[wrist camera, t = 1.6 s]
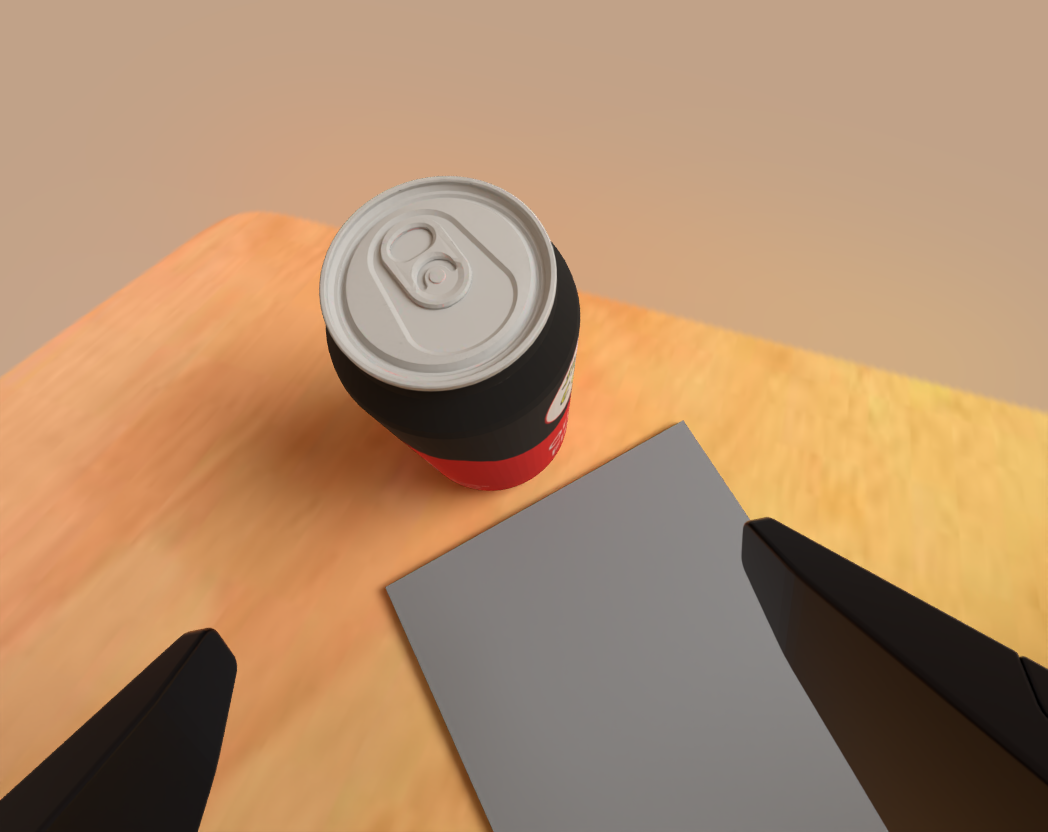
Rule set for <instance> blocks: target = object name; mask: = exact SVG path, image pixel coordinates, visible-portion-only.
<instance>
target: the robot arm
mask: <svg viewBox="0 0 1048 832" xmlns="http://www.w3.org/2000/svg"><path fill="white" fill-rule="evenodd" d="M741 560H742V565H743V568H744V571H745V573H746V575H747V577H748V579H749V582H750V584H751V586H752V588H753V590H754V592H755V595H756V597H757V599H758V601H759V603H760V605H761V608H762V610H763V612H764V614H765V616H766V618H767V621H768V623H769V625H770V627H771V629H772V631H773V634H774V636H775V638H776V640H777V642H778V644H779V646H780V648H781V650H782V652H783V654H784V656H785V658H786V660H787V662H788V663H789V665H790V667H791V669H792V671H793V672H794V674H795V676H796V677H797V679H798V681H799V682H800V684H801V686H802V687H803V689H804V691H805V692H806V694H807V696H808V697H809V699H810V701H811V702H812V704H813V706H814V707H815V709H816V711H817V713H818V714H819V716H820V718H821V719H822V721H823V723H824V724H825V726H826V728H827V729H828V731H829V733H830V734H831V736H832V738H833V739H834V741H835V743H836V744H837V746H838V748H839V749H840V751H841V753H842V754H843V756H844V758H845V760H846V761H847V763H848V765H849V766H850V768H851V770H852V771H853V773H854V775H855V776H856V778H857V780H858V781H859V783H860V785H861V786H862V788H863V790H864V791H865V793H866V795H867V796H868V798H869V800H870V802H871V803H872V805H873V807H874V808H875V810H876V812H877V813H878V815H879V817H880V818H881V820H882V822H883V823H884V825H885V827H886V828H887V830H888V832H1048V669H1047V668H1045V667H1043V666H1042V665H1040V664H1038V663H1036V662H1034V661H1032V660H1031V659H1029V658H1027V657H1024V656H1021V657H1019V655H1018V653H1017V652H1015V651H1014V650H1012V649H1010V648H1008V647H1006V646H1005V645H1003V644H1001V643H999V642H997V641H995V640H994V639H992V638H990V637H988V636H986V635H985V634H983V633H981V632H979V631H977V630H975V629H974V628H972V627H970V626H968V625H966V624H964V623H963V622H961V621H959V620H957V619H955V618H953V617H952V616H950V615H948V614H946V613H944V612H943V611H941V610H939V609H937V608H935V607H933V606H932V605H930V604H928V603H926V602H924V601H922V600H921V599H919V598H917V597H915V596H913V595H911V594H910V593H908V592H906V591H904V590H902V589H901V588H899V587H897V586H895V585H893V584H891V583H890V582H888V581H886V580H884V579H882V578H880V577H879V576H877V575H875V574H873V573H871V572H870V571H868V570H866V569H864V568H862V567H860V566H859V565H857V564H855V563H853V562H851V561H849V560H848V559H846V558H844V557H842V556H840V555H838V554H837V553H835V552H833V551H831V550H829V549H828V548H826V547H824V546H822V545H820V544H818V543H817V542H815V541H813V540H811V539H809V538H807V537H806V536H804V535H802V534H800V533H798V532H796V531H795V530H793V529H791V528H789V527H787V526H786V525H784V524H782V523H780V522H778V521H776V520H775V519H772V518H769V517H764V518H759V519H754V520H749V521H747V522H745V523H744V525H743V533H742V550H741ZM236 673H237V663H236V659H235V656H234V655H233V653H232V652H231V650H230V649H229V648H228V646H227V645H226V643H225V642H224V641H223V639H222V638H221V636H220V635H219V633H218V632H217V631H216V630H214V629H212V628H205V629H200V630H195V631H190V632H187V633H185V634H183V635H182V636H181V637H180V638H178V639H177V640H176V641H175V642H174V643H173V644H172V645H171V646H170V647H169V648H167V649H166V650H165V651H164V652H163V653H162V654H161V655H160V656H159V657H158V658H156V659H155V660H154V661H153V662H152V663H151V664H150V665H149V666H148V667H147V668H145V669H144V670H143V671H142V672H141V673H140V674H139V675H138V676H137V677H136V678H134V679H133V680H132V681H131V682H130V683H129V684H128V685H127V686H126V687H125V688H123V689H122V690H121V691H120V692H119V693H118V694H117V695H116V696H115V697H114V698H112V699H111V700H110V701H109V702H108V703H107V704H106V705H105V706H104V707H102V708H101V709H100V710H99V711H98V712H97V713H96V714H95V715H94V716H93V717H91V718H90V719H89V720H88V721H87V722H86V723H85V724H84V725H83V726H82V727H80V728H79V729H78V730H77V731H76V732H75V733H74V734H73V735H72V736H71V737H69V738H68V739H67V740H66V741H65V742H64V743H63V744H62V745H61V746H60V747H58V748H57V749H56V750H55V751H54V752H53V753H52V754H51V755H50V756H49V757H47V758H46V759H45V760H44V761H43V762H42V763H41V764H40V765H39V766H38V767H36V768H35V769H34V770H33V771H32V772H31V773H30V774H29V775H28V776H26V777H25V778H24V779H23V780H22V781H21V782H20V783H19V784H18V785H17V786H15V787H14V788H13V789H12V790H11V791H10V792H9V793H8V794H7V795H6V796H4V797H3V798H2V799H1V800H0V832H198V829H199V826H200V823H201V820H202V816H203V813H204V810H205V806H206V803H207V800H208V797H209V793H210V790H211V787H212V783H213V779H214V776H215V772H216V769H217V764H218V760H219V756H220V752H221V747H222V742H223V737H224V732H225V727H226V722H227V717H228V712H229V708H230V703H231V698H232V693H233V688H234V683H235V678H236Z"/></svg>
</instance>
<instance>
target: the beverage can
mask: <svg viewBox="0 0 1048 832" xmlns="http://www.w3.org/2000/svg"><path fill="white" fill-rule="evenodd" d="M319 296H320V305H321V310H322V315H323V318H324V321H325V324H326V337H327V344H328V349H329V353H330V356H331V359H332V362H333V365H334V368H335V370H336V372H337V375H338V377H339V379H340V381H341V382H342V384H343V386H344V387H345V389H346V390H347V392H348V393H349V394H350V396H351V397H352V398H353V399H354V400H355V401H356V402H357V403H358V405H359V406H360V407H362V408H363V409H364V410H365V411H366V412H367V413H368V414H370V415H371V416H372V417H373V418H375V419H376V420H377V421H378V422H379V423H381V424H382V425H383V426H384V427H386V428H387V429H388V430H389V431H391V432H392V433H393V434H394V435H395V436H397V437H398V438H399V439H400V440H402V441H403V442H404V443H405V444H406V445H408V446H409V447H410V448H411V449H413V450H414V451H415V452H416V453H418V454H419V455H420V456H421V457H422V458H424V459H425V460H426V461H427V462H429V463H430V464H431V465H432V466H433V467H435V468H436V469H437V470H438V471H440V472H441V473H442V474H443V475H445V476H446V477H447V478H449V479H450V480H452V481H454V482H456V483H458V484H460V485H463V486H465V487H469V488H472V489H477V490H486V491H494V490H503V489H508V488H512V487H515V486H518V485H520V484H523V483H525V482H527V481H528V480H530V479H532V478H533V477H535V476H536V475H538V474H539V473H540V472H541V471H543V470H544V469H545V468H546V467H547V466H548V465H549V463H550V462H551V461H552V460H553V458H554V457H555V455H556V454H557V452H558V450H559V448H560V447H561V444H562V442H563V439H564V436H565V433H566V428H567V421H568V413H569V406H570V398H571V390H572V383H573V375H574V368H575V360H576V352H577V345H578V337H579V329H580V305H579V297H578V293H577V289H576V285H575V283H574V280H573V277H572V275H571V272H570V270H569V268H568V266H567V264H566V262H565V260H564V259H563V257H562V255H561V254H560V252H559V251H558V250H557V248H556V247H555V246H554V245H553V243H552V242H551V241H550V238H549V236H548V235H547V232H546V230H545V228H544V227H543V225H542V224H541V222H540V221H539V219H538V218H537V217H536V215H535V214H534V213H533V212H532V211H531V210H530V209H529V208H528V207H527V206H526V205H525V204H524V203H523V202H521V201H520V200H519V199H518V198H516V197H515V196H513V195H512V194H510V193H509V192H507V191H505V190H503V189H501V188H499V187H497V186H495V185H492V184H490V183H487V182H483V181H481V180H476V179H471V178H465V177H455V176H436V177H427V178H422V179H417V180H414V181H410V182H406V183H403V184H400V185H398V186H395V187H393V188H391V189H388V190H386V191H384V192H382V193H381V194H379V195H377V196H376V197H374V198H372V199H371V200H369V201H368V202H367V203H365V204H364V205H363V206H362V207H360V208H359V209H358V210H357V211H356V212H355V213H354V214H353V215H352V216H351V217H350V218H349V219H348V220H347V221H346V222H345V223H344V225H343V226H342V227H341V229H340V230H339V231H338V233H337V234H336V236H335V238H334V239H333V241H332V243H331V245H330V247H329V249H328V251H327V254H326V256H325V259H324V262H323V266H322V270H321V276H320V285H319Z"/></svg>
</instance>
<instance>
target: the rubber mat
mask: <svg viewBox="0 0 1048 832" xmlns="http://www.w3.org/2000/svg"><path fill="white" fill-rule="evenodd" d="M749 520H750V519H749V518H748V516H747V515H746V513H745V512H744V510H743V509H742V507H741V506H740V504H739V503H738V501H737V500H736V498H735V497H734V495H733V494H732V492H731V491H730V489H729V488H728V486H727V485H726V483H725V482H724V480H723V479H722V477H721V476H720V474H719V473H718V471H717V470H716V468H715V467H714V465H713V464H712V462H711V461H710V459H709V458H708V456H707V455H706V453H705V452H704V450H703V449H702V448H701V446H700V445H699V443H698V442H697V440H696V439H695V437H694V436H693V434H692V433H691V431H690V430H689V428H688V427H687V425H686V424H685V422H684V421H681V422H679V423H678V424H676V425H674V426H672V427H671V428H669V429H667V430H665V431H663V432H662V433H660V434H658V435H656V436H654V437H653V438H651V439H649V440H647V441H646V442H644V443H642V444H640V445H638V446H637V447H635V448H633V449H631V450H629V451H628V452H626V453H624V454H622V455H621V456H619V457H617V458H615V459H613V460H612V461H610V462H608V463H606V464H604V465H603V466H601V467H599V468H597V469H596V470H594V471H592V472H590V473H588V474H587V475H585V476H583V477H581V478H579V479H578V480H576V481H574V482H572V483H571V484H569V485H567V486H565V487H563V488H562V489H560V490H558V491H556V492H554V493H553V494H551V495H549V496H547V497H546V498H544V499H542V500H540V501H538V502H537V503H535V504H533V505H531V506H529V507H528V508H526V509H524V510H522V511H521V512H519V513H517V514H515V515H513V516H512V517H510V518H508V519H506V520H504V521H503V522H501V523H499V524H497V525H496V526H494V527H492V528H490V529H488V530H487V531H485V532H483V533H481V534H480V535H478V536H476V537H474V538H472V539H471V540H469V541H467V542H465V543H463V544H462V545H460V546H458V547H456V548H455V549H453V550H451V551H449V552H447V553H446V554H444V555H442V556H440V557H438V558H437V559H435V560H433V561H431V562H430V563H428V564H426V565H424V566H422V567H421V568H419V569H417V570H415V571H413V572H412V573H410V574H408V575H406V576H405V577H403V578H401V579H399V580H397V581H396V582H394V583H392V584H390V585H388V586H387V587H385V588H386V590H387V592H388V594H389V597H390V599H391V601H392V603H393V606H394V608H395V610H396V613H397V615H398V617H399V619H400V622H401V624H402V626H403V628H404V631H405V633H406V635H407V637H408V640H409V642H410V644H411V646H412V649H413V651H414V653H415V655H416V658H417V660H418V662H419V665H420V667H421V669H422V671H423V674H424V676H425V678H426V680H427V683H428V685H429V687H430V689H431V692H432V694H433V696H434V698H435V701H436V703H437V705H438V707H439V710H440V712H441V714H442V716H443V719H444V721H445V723H446V726H447V728H448V730H449V732H450V735H451V737H452V739H453V741H454V744H455V746H456V748H457V750H458V753H459V755H460V757H461V759H462V762H463V764H464V766H465V768H466V771H467V773H468V775H469V778H470V780H471V782H472V784H473V787H474V789H475V791H476V793H477V796H478V798H479V800H480V802H481V805H482V807H483V809H484V811H485V814H486V816H487V818H488V820H489V823H490V825H491V827H492V830H493V832H888V830H887V828H886V827H885V825H884V823H883V822H882V820H881V818H880V817H879V815H878V813H877V812H876V810H875V808H874V807H873V805H872V803H871V802H870V800H869V798H868V796H867V795H866V793H865V791H864V790H863V788H862V786H861V785H860V783H859V781H858V780H857V778H856V776H855V775H854V773H853V771H852V770H851V768H850V766H849V765H848V763H847V761H846V760H845V758H844V756H843V754H842V753H841V751H840V749H839V748H838V746H837V744H836V743H835V741H834V739H833V738H832V736H831V734H830V733H829V731H828V729H827V728H826V726H825V724H824V723H823V721H822V719H821V718H820V716H819V714H818V713H817V711H816V709H815V707H814V706H813V704H812V702H811V701H810V699H809V697H808V696H807V694H806V692H805V691H804V689H803V687H802V686H801V684H800V682H799V681H798V679H797V677H796V676H795V674H794V672H793V671H792V669H791V667H790V665H789V663H788V662H787V660H786V658H785V656H784V654H783V652H782V650H781V648H780V646H779V644H778V642H777V640H776V638H775V636H774V634H773V631H772V629H771V627H770V625H769V623H768V621H767V618H766V616H765V614H764V612H763V610H762V608H761V605H760V603H759V601H758V599H757V597H756V595H755V592H754V590H753V588H752V586H751V584H750V582H749V579H748V577H747V575H746V573H745V571H744V568H743V565H742V560H741V550H742V533H743V525H744V523H745V522H747V521H749Z"/></svg>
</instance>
